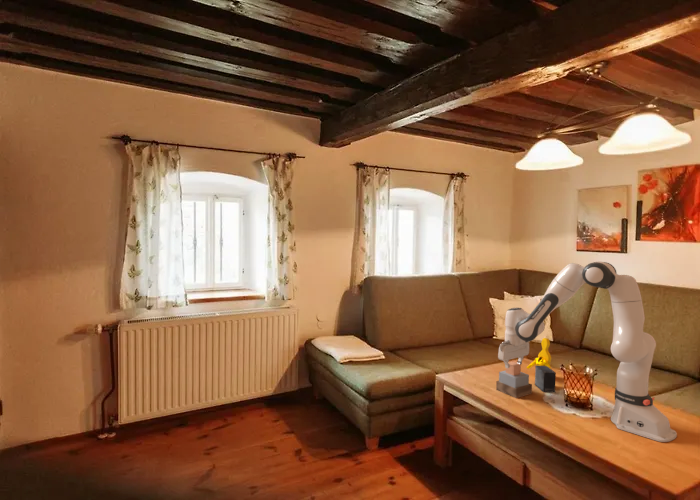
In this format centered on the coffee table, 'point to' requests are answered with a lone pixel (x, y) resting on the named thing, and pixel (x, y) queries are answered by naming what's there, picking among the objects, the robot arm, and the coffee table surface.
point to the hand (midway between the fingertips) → (513, 366)
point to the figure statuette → (542, 355)
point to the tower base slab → (514, 389)
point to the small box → (545, 378)
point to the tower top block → (514, 379)
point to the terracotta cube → (514, 368)
